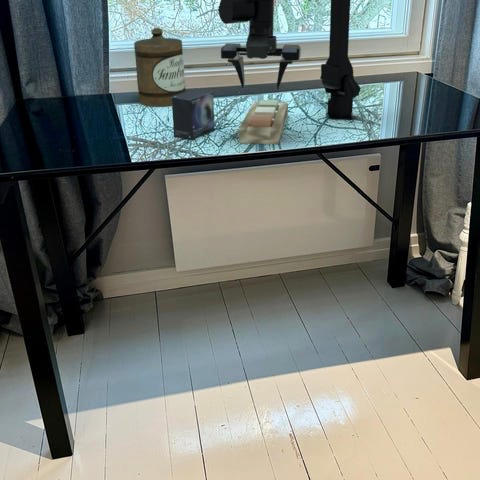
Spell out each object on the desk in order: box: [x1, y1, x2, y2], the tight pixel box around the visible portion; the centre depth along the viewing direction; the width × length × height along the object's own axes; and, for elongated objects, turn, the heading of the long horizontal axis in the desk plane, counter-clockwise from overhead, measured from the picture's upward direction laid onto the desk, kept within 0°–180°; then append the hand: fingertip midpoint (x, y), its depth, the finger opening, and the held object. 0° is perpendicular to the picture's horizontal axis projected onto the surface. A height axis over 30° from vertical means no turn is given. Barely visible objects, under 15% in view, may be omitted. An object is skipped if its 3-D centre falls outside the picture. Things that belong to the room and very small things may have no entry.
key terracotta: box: [250, 115, 272, 127], centre depth 143 cm, size 5×5×2 cm
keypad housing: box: [238, 101, 289, 145], centre depth 150 cm, size 10×26×4 cm, turn 171°
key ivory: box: [254, 107, 275, 119], centre depth 149 cm, size 5×5×2 cm
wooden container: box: [133, 27, 187, 108], centre depth 174 cm, size 15×15×22 cm
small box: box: [171, 88, 215, 140], centre depth 146 cm, size 11×6×10 cm, turn 148°
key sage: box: [258, 99, 279, 111], centre depth 156 cm, size 5×5×2 cm
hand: (260, 88), depth 139 cm, fingers open, 8 cm apart
